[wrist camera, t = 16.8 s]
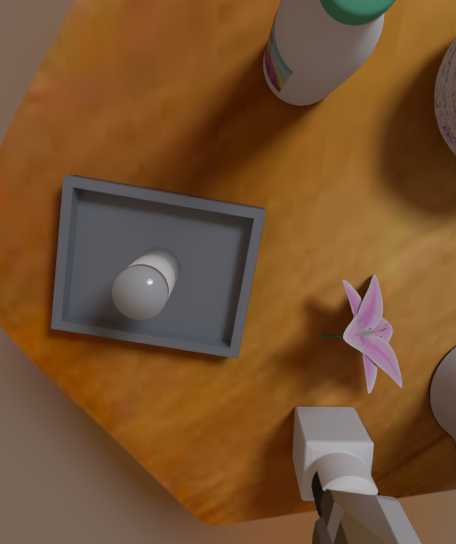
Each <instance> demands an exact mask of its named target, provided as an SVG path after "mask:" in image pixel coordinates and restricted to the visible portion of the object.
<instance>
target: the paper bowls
mask: <svg viewBox="0 0 456 544" xmlns="http://www.w3.org/2000/svg"><path fill="white" fill-rule="evenodd" d="M434 107H435V115H436V119H437V123H438V127H439V130H440V132H441V134H442V137H443V138H444V140H445V142H446V143H447V145H448V146H449V148H450V149H451V150H452V151H453V153H454V154H455V155H456V37H455V39H454V40H453V42H452V43H451V45H450V46H449V48H448V50H447V52H446V54H445V56H444V58H443V60H442V63H441V66H440V68H439V71H438V74H437V78H436V84H435V93H434Z"/></svg>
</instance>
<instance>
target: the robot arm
mask: <svg viewBox="0 0 456 544" xmlns="http://www.w3.org/2000/svg"><path fill="white" fill-rule="evenodd" d="M430 402H431V408H432V411H433V414H434V416H435V418H436V420H437V422H438V423H439V424H440V426H441V427H442V428H443V429H444V430H445V431H446V432H447V433H448V434H449V435H450V436H451V437H452V438H453V439H454V440H455V443H456V347H455V348H454V349H453V350H452V351H451V352H450V353H449V354H448V355H447V356H446V357H445V358H444V359H443V361H442V362H441V364H440V365H439V367H438V368H437V370H436V372H435V375H434V377H433V380H432V384H431V389H430ZM320 505H321V509H322V512H323V516H322V517H321V518H319V519H318V520H317V521H316V523H315V528H314V532H313V540H312V544H421V542H420V540H419V538H418V536H417V534H416V533H415V531H414V529H413V527H412V525H411V523H410V521H409V519H408V518H407V516H406V514H405V512H404V510H403V508H402V507H401V504H400V503H399V501H398V500H397V499H396V498H394V497H388V496H380V495H366V494H360V493H353V492H346V491H339V490H332V489H326V490H325V492H324V493H323V496H322V500H321V503H320Z"/></svg>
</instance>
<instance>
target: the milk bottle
mask: <svg viewBox="0 0 456 544" xmlns="http://www.w3.org/2000/svg"><path fill="white" fill-rule="evenodd" d="M394 2H395V0H281V3H280V5H279V7H278V10H277V12H276V15H275V18H274V22H273V25H272V28H271V31H270V34H269V38H268V41H267V45H266V48H265V53H264V59H263V70H264V76H265V79H266V82H267V84H268V86H269V88H270V89H271V91H272V92H273V93H274V94H275V95H276V96H277V97H278V98H279V99H281V100H282V101H284V102H286V103H289V104H292V105H297V106H304V105H310V104H314V103H316V102H318V101H320V100H322V99H323V98H325V97H326V96H327V95H329V94H330V93H331V92H332V91H334V90H335V89H336V88H337V87H339V86H340V85H341V84H342V83H344V82H345V81H346V80H347V79H348V78H349V77H351V76H352V75H353V74H354V73H355V72H356V71H357V70H358V69H359V68H360V67H361V66H362V65H363V64H364V63H365V61H366V60H367V59H368V58H369V56H370V55H371V53H372V52H373V50H374V48H375V46H376V44H377V42H378V40H379V37H380V34H381V31H382V27H383V22H384V13H385V12H386V11H387V10H388V9H389V8H390V7H391V5H392V4H393V3H394Z"/></svg>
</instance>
